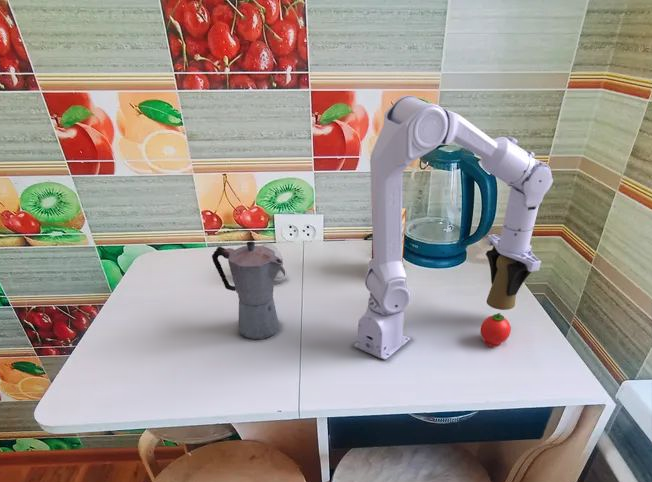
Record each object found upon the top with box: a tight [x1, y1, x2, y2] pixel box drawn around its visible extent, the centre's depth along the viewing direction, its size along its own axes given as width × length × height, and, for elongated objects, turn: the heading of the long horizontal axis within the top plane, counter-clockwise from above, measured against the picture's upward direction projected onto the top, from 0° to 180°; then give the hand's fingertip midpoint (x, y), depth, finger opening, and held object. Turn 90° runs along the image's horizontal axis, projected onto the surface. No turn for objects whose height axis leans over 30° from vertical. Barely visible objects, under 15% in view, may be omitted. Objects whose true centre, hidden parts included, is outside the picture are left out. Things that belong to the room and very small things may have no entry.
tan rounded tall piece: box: [486, 254, 517, 311], centre depth 97 cm, size 6×6×11 cm
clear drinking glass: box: [260, 242, 287, 285], centre depth 118 cm, size 11×8×8 cm
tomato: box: [479, 312, 512, 348], centre depth 95 cm, size 6×6×7 cm
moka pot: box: [211, 241, 284, 340], centre depth 95 cm, size 10×15×20 cm, turn 78°
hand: (503, 288), depth 99 cm, fingers closed on tan rounded tall piece, 5 cm apart
